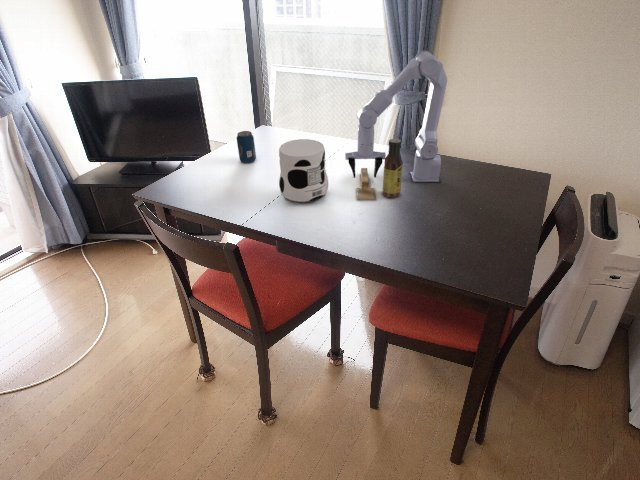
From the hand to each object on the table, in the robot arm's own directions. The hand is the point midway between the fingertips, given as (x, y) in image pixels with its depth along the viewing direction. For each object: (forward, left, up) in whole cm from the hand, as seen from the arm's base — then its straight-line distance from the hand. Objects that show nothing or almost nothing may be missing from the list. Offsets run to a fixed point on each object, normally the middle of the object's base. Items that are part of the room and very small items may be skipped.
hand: (364, 176), depth 157 cm
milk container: (+22, +11, -2) cm, 25 cm away
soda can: (+48, -19, -2) cm, 52 cm away
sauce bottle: (-9, +11, -2) cm, 14 cm away
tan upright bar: (0, +5, -2) cm, 5 cm away
